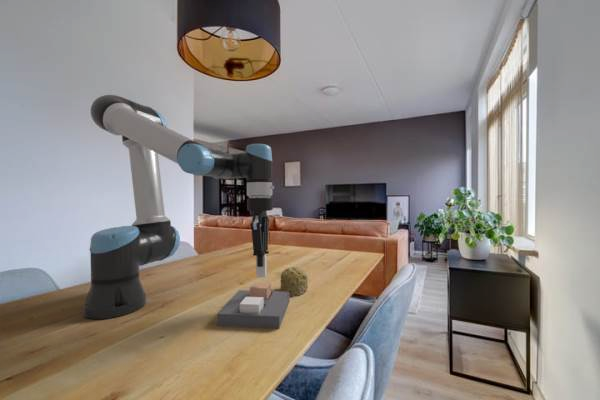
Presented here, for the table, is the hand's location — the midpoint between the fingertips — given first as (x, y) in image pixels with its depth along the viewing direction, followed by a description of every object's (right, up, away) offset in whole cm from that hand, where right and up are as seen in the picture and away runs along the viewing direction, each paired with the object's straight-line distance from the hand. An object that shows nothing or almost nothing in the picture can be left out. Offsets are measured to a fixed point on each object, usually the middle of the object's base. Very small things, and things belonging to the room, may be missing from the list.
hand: (261, 276), depth 79 cm
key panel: (-1, -9, -4) cm, 10 cm away
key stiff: (0, -6, 0) cm, 6 cm away
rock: (+9, -9, +13) cm, 18 cm away
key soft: (-1, -7, -9) cm, 11 cm away
